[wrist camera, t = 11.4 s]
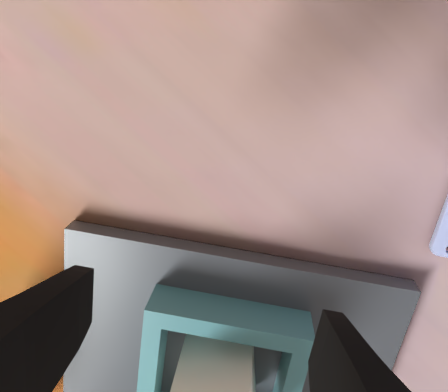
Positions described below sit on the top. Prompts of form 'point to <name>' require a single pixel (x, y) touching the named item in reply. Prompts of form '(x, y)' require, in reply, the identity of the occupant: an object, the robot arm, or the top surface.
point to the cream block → (214, 366)
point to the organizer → (216, 308)
